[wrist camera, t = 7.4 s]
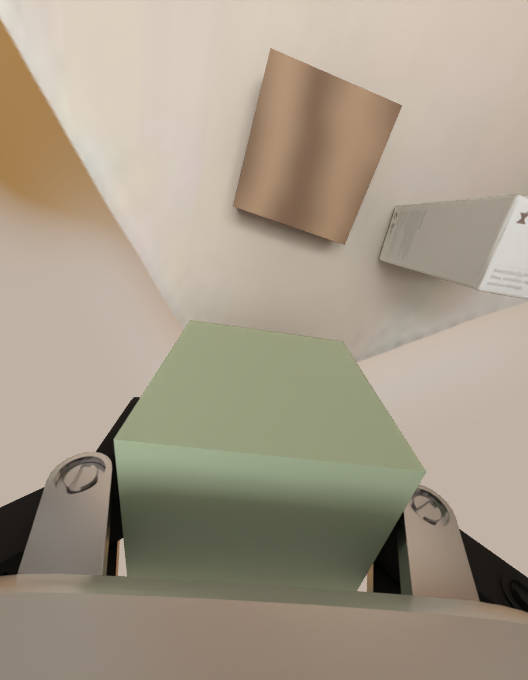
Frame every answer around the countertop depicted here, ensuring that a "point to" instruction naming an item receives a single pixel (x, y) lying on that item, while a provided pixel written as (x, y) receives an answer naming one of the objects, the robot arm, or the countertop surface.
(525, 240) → the skincare box
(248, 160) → the walnut block
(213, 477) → the sage cube
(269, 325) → the countertop surface
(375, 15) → the countertop surface
